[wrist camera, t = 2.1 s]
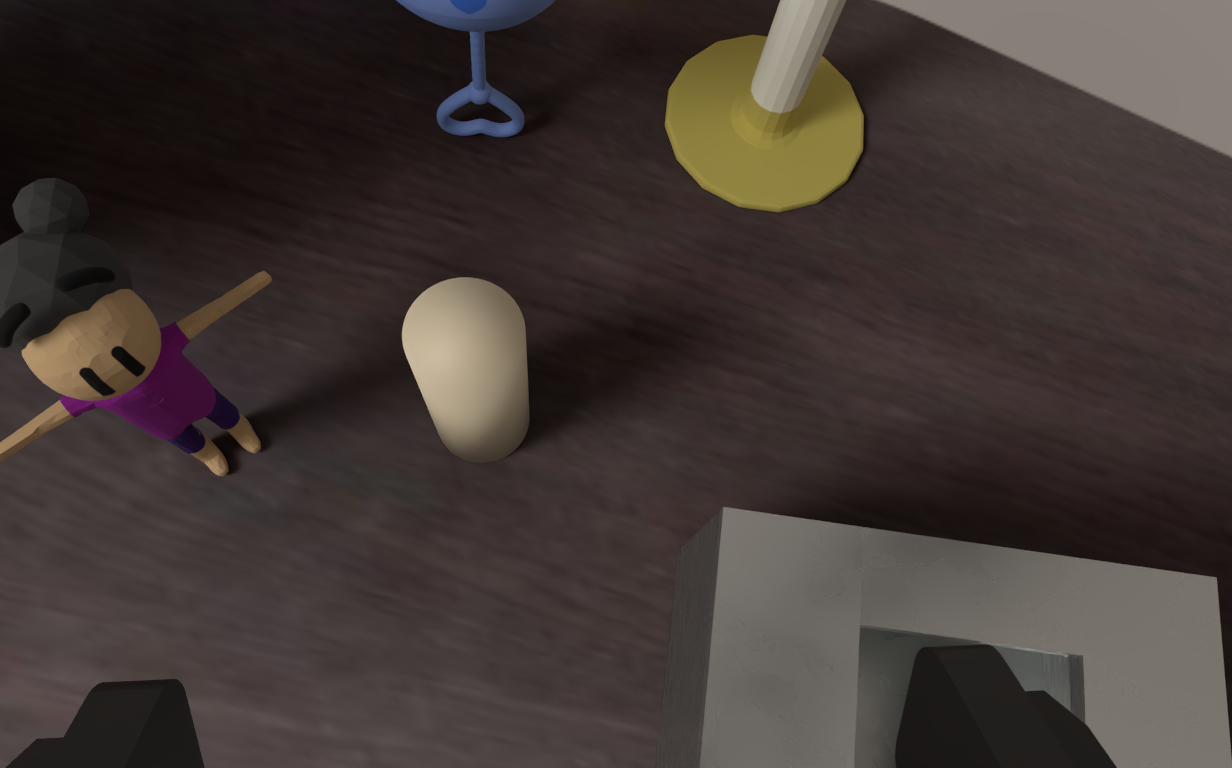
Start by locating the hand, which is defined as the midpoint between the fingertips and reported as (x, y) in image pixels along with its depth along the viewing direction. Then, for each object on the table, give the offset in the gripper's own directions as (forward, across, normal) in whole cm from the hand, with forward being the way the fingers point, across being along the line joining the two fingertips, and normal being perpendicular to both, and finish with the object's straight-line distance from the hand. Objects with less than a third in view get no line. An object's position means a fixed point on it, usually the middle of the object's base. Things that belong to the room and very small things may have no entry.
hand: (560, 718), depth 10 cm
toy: (+28, +14, +11) cm, 33 cm away
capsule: (+27, +2, +11) cm, 30 cm away
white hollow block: (+18, -12, +21) cm, 30 cm away
